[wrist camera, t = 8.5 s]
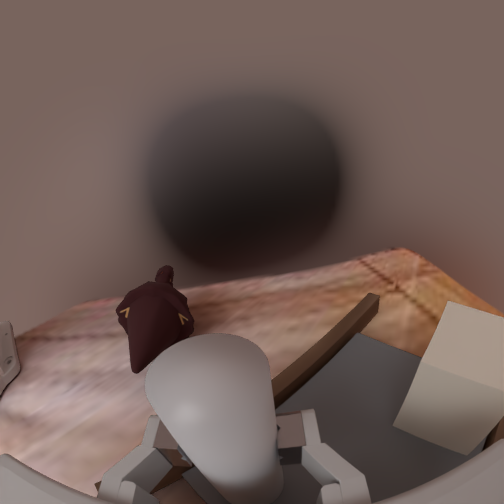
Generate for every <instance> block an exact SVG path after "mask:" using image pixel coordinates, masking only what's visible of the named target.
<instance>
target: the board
mask: <svg viewBox="0 0 504 504" xmlns="http://www.w3.org/2000/svg"><path fill="white" fill-rule="evenodd" d="M421 359H422V358H421V357H419V356H416V355H413V354H411V353H408V352H406V351H403V350H400V349H398V348H395V347H393V346H390V345H388V344H385V343H382V342H380V341H377V340H375V339H372V338H370V337H367V336H365V335H362V334H360V333H358V332H357V333H356V334H355V335H354V337H353V338H352V339H351V340H350V341H349V342H348V343H347V344H346V345H345V346H344V347H343V348H342V349H341V350H340V351H339V352H338V353H337V354H336V355H335V356H334V357H333V358H332V359H331V360H330V361H329V362H328V363H327V364H326V365H325V366H324V367H323V368H322V369H321V370H320V371H319V372H318V373H317V374H316V375H315V376H314V377H312V378H311V379H310V380H309V381H308V382H307V383H306V384H305V385H304V386H303V387H301V388H300V389H299V390H298V391H297V392H296V393H295V394H293V395H292V396H291V397H290V398H289V399H288V400H286V401H285V402H284V403H283V404H282V405H280V406H279V407H278V408H277V409H276V410H275V407H274V399H273V391H272V383H271V375H270V367H269V363H268V359H267V357H266V355H265V354H264V352H263V351H262V350H261V349H260V348H259V347H258V346H257V345H256V344H254V343H253V342H251V341H249V340H248V339H245V338H243V337H240V336H236V335H231V334H223V333H213V334H203V335H198V336H194V337H191V338H187V339H185V340H182V341H180V342H178V343H176V344H174V345H172V346H170V347H169V348H167V349H166V350H165V351H163V352H162V353H161V354H160V355H159V356H158V357H157V358H156V359H155V360H154V362H153V363H152V364H151V366H150V368H149V369H148V372H147V374H146V378H145V392H146V396H147V398H148V400H149V402H150V404H151V405H152V407H153V409H154V410H155V412H156V413H157V415H158V416H159V418H160V419H161V421H162V422H163V424H164V425H165V426H166V428H167V429H168V431H169V432H170V433H171V435H172V436H173V438H174V439H175V440H176V442H177V443H178V444H179V446H180V447H181V448H182V450H183V451H184V452H185V453H186V455H187V456H188V457H189V458H190V460H191V461H192V462H193V463H194V465H195V467H193V468H191V469H190V470H188V471H186V472H184V473H183V474H181V475H182V476H183V477H184V478H185V479H186V481H187V482H188V483H189V484H190V485H191V487H192V488H193V489H194V490H195V491H196V492H197V493H198V495H199V496H200V497H201V498H202V499H203V500H204V501H205V502H206V503H207V504H316V501H317V498H318V496H319V493H320V490H321V488H322V487H323V486H322V485H321V484H320V483H319V482H318V481H317V480H316V479H315V478H314V477H313V476H312V475H311V474H310V473H309V472H308V471H307V470H306V469H305V467H304V466H303V465H302V463H301V464H292V465H281V466H280V461H279V453H278V444H277V432H278V430H277V422H276V415H275V414H279V413H286V412H293V411H301V410H308V409H314V411H315V414H316V419H317V424H318V429H319V434H320V439H321V443H326V444H327V445H328V446H330V447H331V448H332V449H333V450H334V451H335V452H337V453H338V454H339V455H340V456H341V457H342V458H344V459H345V460H346V461H347V462H349V463H350V464H351V465H352V466H353V467H355V468H356V469H357V470H358V471H360V472H361V473H362V474H364V475H365V479H366V483H367V487H368V491H369V495H370V499H371V503H375V502H379V501H382V500H385V499H388V498H390V497H393V496H396V495H399V494H401V493H404V492H406V491H409V490H411V489H413V488H416V487H418V486H420V485H423V484H425V483H427V482H429V481H431V480H433V479H435V478H437V477H439V476H441V475H443V474H445V473H447V472H449V471H451V470H453V469H454V468H456V467H458V466H460V465H461V464H463V463H465V462H467V461H468V460H470V459H471V458H473V457H475V456H476V455H478V454H479V453H481V452H482V449H483V446H484V443H485V441H486V438H487V436H486V437H485V438H484V439H483V440H482V441H481V442H480V443H479V444H478V445H477V446H476V447H475V448H474V449H473V450H472V451H471V452H470V453H469V454H468V455H464V454H461V453H458V452H455V451H452V450H450V449H447V448H444V447H442V446H439V445H437V444H434V443H431V442H429V441H426V440H424V439H422V438H419V437H417V436H415V435H412V434H410V433H408V432H405V431H403V430H401V429H399V428H396V427H394V426H392V425H393V423H394V421H395V419H396V417H397V415H398V413H399V411H400V409H401V407H402V405H403V403H404V400H405V398H406V396H407V394H408V391H409V389H410V387H411V384H412V382H413V379H414V377H415V374H416V372H417V369H418V367H419V364H420V361H421Z"/></svg>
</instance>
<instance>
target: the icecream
mask: <svg viewBox="0 0 504 504" xmlns="http://www.w3.org/2000/svg"><path fill="white" fill-rule="evenodd" d="M173 274H174V272H173V268H172V267H171V266H167V265H166V266H164V267H162V268H160V269H159V270H158V272H157V275H156V278H155V281H156V282H147V283H145V284H143V285H141V286H139V287H138V288H136V289H134V290H132V291H130V292H129V293H128V294H127V295H126V296H125V298H124V300H123V301H122V302H121V303H120V304H119V306H118V307H117V309H116V313H117V315H118V316H119V318H118V321H119V323H120V324H121V326H122V327H123V328H124V329H125V331H126V333H127V335H128V340H129V350H130V361H131V368H132V371H133V372H134V373H136V374H137V373H139V372H141V371H142V370H143V369H144V368H145V367H146V366H147V365H148V364H149V363H150V362H152V361H153V360H154V359H155V358H156V357H157V356H158V355H159V354H161V353H162V352H163V351H164V350H166V349H167V348H169V347H170V346H172V345H174V344H176V343H178V342H180V341H182V340H185V339H187V338H188V337H189V335H190V334H192V332H193V331H194V328H193V324H194V319H193V317H192V315H191V314H190V311H189V308H188V305H187V298H186V297H185V296H184V295H183V294H181V293H180V292H179V291H177V290H176V289H175V288H173V283H172V282H173V276H174V275H173Z"/></svg>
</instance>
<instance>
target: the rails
mask: <svg viewBox="0 0 504 504" xmlns="http://www.w3.org/2000/svg"><path fill="white" fill-rule="evenodd" d="M379 298H380V296H379V295H376V294H372V293H368V294H367V296H366V297H365V298H364V299H363V300H362V301H361V302H360V303H359V304H358V305H357V306H356V307H355V308H354V309H353V310H351V311H350V312H349V313H348V314H347V315H346V316H345V317H344V318H343V319H342V320H341V321H340V322H339V323H338V324H337V325H336V326H335V327H334V328H333V329H331V330H330V331H329V332H328V333H327V334H326V335H325V336H324V337H323V338H322V339H320V340H319V341H318V342H317V343H316V344H315V345H314V346H312V347H311V348H310V349H309V350H308V351H307V352H306V353H304V354H303V355H302V356H301V357H300V358H298V359H297V360H296V361H295V362H294V363H292V364H291V365H290V366H289V367H287V368H286V369H285V370H284V371H283V372H281V373H280V374H279V375H277V376H276V377H275V378H274V379H272V380H271V383H272V391H273V399H274V407H275V410H276V409H277V408H278V407H279V406H280V405H282V404H283V403H284V402H285V401H286V400H288V399H289V398H290V397H291V396H292V395H293V394H295V393H296V392H297V391H298V390H299V389H300V388H301V387H303V386H304V385H305V384H306V383H307V382H308V381H309V380H310V379H311V378H312V377H314V376H315V375H316V374H317V373H318V372H319V371H320V370H321V369H322V368H323V367H324V366H325V365H326V364H327V363H328V362H329V361H330V360H331V359H332V358H333V357H334V356H335V355H336V354H337V353H338V352H339V351H340V350H341V349H342V348H343V347H344V346H345V345H346V344H347V343H348V342H349V341H350V340H351V339H352V338H353V337H354V335H355V334H356V333H357V332H358V333H360V332H361V331H362V330H363V329H364V328H365V326H366V325H367V324H368V323H369V322H370V321H371V320H372V318H373V317H374V316H375V315H376V314H377V313H378V306H379ZM500 439H504V416H503V417H502V419H501V420H500V421H499V422H498V423H497V424H496V426H495V427H494V428H493V429H492V430H491V431H490V432H489V434H488V435H487V438H486V441H485V443H484V446H483V449H482V451H484V450H485V449H487V448H488V447H490V446H491V445H493V444H494V443H495V442H497V441H498V440H500ZM193 467H195V465H194V463H193V462H192V467H186V466H173V467H172V468H171V469H170V470H169V472H168V473H167V474H166V475H165V476H164V477H163V478H162V480H161V481H160V482H159V483H158V484H157V485H156V486H155V487H154V489H153V490H152V491H151V492H150V493H149V494H151V493H153V492H155V491H157V490H159V489H161V488H163V487H165V486H167V485H169V484H171V483H173V482H175V481H176V480H178V479H180V478H182V477H183V476H182V475H181V474H183V473H184V472H186V471H188V470H190V469H191V468H193ZM101 482H102V481H100V482H98V483H95V486H96V489H97V491H98V492H99V488H100V485H101Z"/></svg>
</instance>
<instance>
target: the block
mask: <svg viewBox="0 0 504 504" xmlns="http://www.w3.org/2000/svg"><path fill="white" fill-rule="evenodd" d="M503 416H504V318H503V317H500V316H497V315H493V314H490V313H487V312H484V311H480V310H477V309H474V308H471V307H467V306H464V305H461V304H458V303H454V302H451V301H448V302H447V305H446V307H445V310H444V312H443V314H442V317H441V319H440V322H439V324H438V326H437V328H436V331H435V333H434V335H433V337H432V339H431V341H430V344H429V346H428V348H427V350H426V352H425V354H424V356H423V358H422V359H421V361H420V364H419V367H418V369H417V372H416V374H415V377H414V379H413V382H412V384H411V387H410V389H409V391H408V394H407V396H406V398H405V400H404V403H403V405H402V407H401V409H400V411H399V413H398V415H397V417H396V419H395V421H394V423H393V425H392V426H394V427H396V428H399V429H401V430H403V431H405V432H408V433H410V434H412V435H415V436H417V437H419V438H422V439H424V440H426V441H429V442H431V443H434V444H437V445H439V446H442V447H444V448H447V449H450V450H452V451H455V452H458V453H461V454H464V455H468V454H469V453H470V452H471V451H472V450H473V449H474V448H475V447H476V446H477V445H478V444H479V443H480V442H481V441H482V440H483V439H484V438H485V437H486V436H487V435H488V434H489V432H490V431H491V430H492V429H493V428H494V427H495V426H496V424H497V423H498V422H499V421H500V420H501V419H502V417H503Z"/></svg>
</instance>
